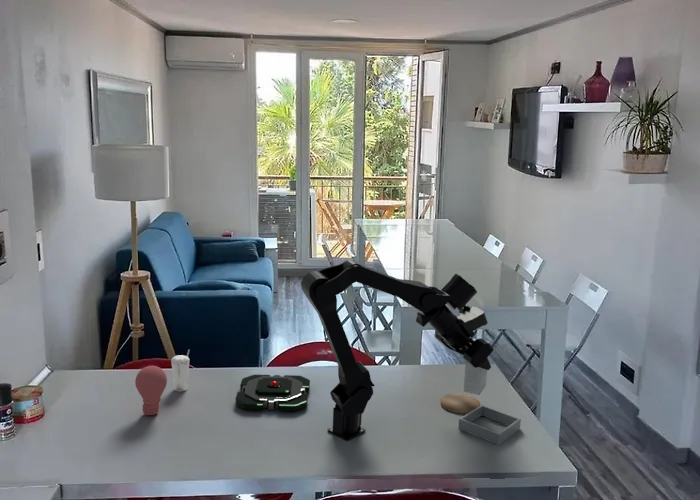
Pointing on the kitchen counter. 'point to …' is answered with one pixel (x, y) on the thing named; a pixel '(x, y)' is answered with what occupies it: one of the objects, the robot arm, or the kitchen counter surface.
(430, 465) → the kitchen counter surface
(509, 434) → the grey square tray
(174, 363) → the milkshake
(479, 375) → the skincare box
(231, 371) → the kitchen counter surface
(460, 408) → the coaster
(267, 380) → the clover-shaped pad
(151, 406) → the light bulb
